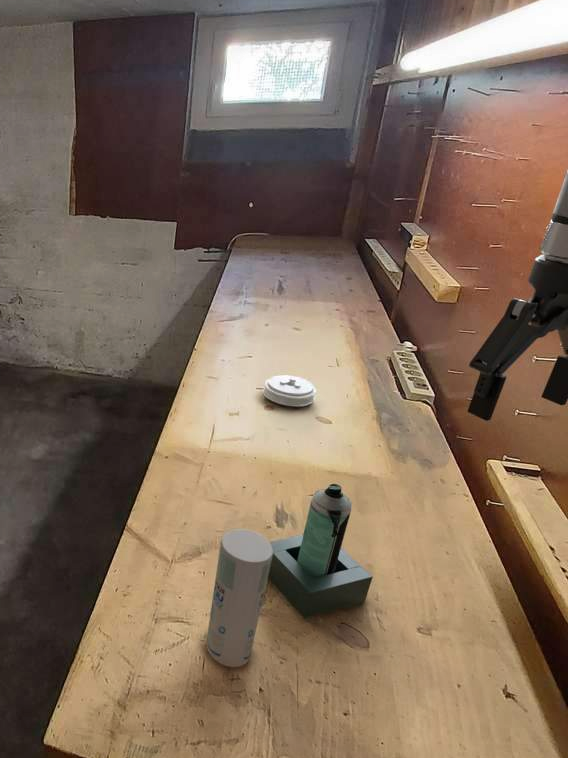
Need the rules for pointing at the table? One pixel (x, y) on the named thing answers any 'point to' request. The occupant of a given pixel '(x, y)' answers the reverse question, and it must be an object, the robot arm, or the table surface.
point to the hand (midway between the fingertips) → (516, 408)
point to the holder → (316, 580)
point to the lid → (289, 390)
